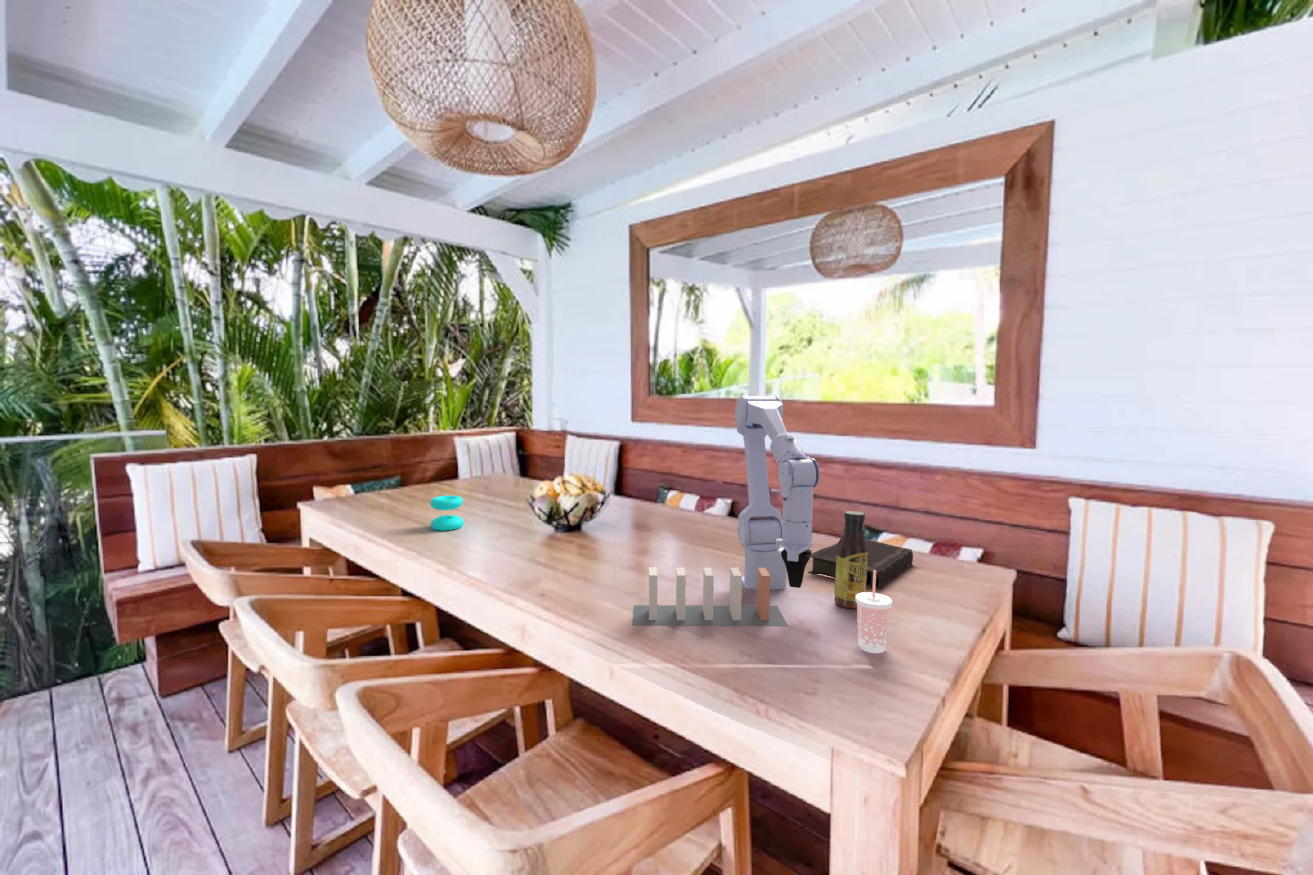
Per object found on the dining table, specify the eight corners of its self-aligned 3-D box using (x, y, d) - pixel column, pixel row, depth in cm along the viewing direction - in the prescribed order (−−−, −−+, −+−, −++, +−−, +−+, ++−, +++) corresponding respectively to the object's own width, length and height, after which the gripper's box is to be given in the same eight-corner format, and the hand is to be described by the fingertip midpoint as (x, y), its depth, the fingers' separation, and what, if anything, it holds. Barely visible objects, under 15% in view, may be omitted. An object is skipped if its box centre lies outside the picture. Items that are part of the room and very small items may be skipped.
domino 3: (710, 610, 116) (711, 567, 116) (713, 620, 111) (713, 575, 111) (702, 610, 116) (703, 567, 116) (704, 620, 111) (705, 575, 111)
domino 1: (656, 610, 116) (657, 567, 116) (657, 620, 111) (657, 575, 111) (649, 610, 116) (649, 567, 116) (648, 620, 111) (649, 575, 111)
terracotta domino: (761, 620, 111) (762, 575, 111) (756, 610, 116) (757, 567, 116) (769, 620, 111) (770, 575, 111) (764, 610, 116) (765, 567, 116)
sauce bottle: (849, 612, 117) (853, 517, 115) (827, 602, 122) (830, 511, 120) (872, 606, 120) (876, 514, 118) (849, 597, 125) (853, 508, 124)
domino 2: (683, 610, 116) (684, 567, 116) (685, 620, 111) (685, 575, 111) (675, 610, 116) (676, 567, 116) (676, 620, 111) (677, 575, 111)
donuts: (445, 493, 190) (469, 495, 186) (445, 523, 191) (470, 525, 187) (422, 499, 181) (448, 501, 177) (424, 530, 181) (449, 533, 178)
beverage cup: (897, 652, 99) (901, 574, 98) (867, 657, 97) (871, 577, 96) (874, 637, 105) (878, 563, 104) (846, 641, 103) (849, 566, 102)
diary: (913, 567, 149) (914, 548, 148) (879, 593, 130) (880, 572, 129) (844, 552, 161) (845, 534, 160) (803, 574, 142) (804, 554, 141)
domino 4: (737, 610, 116) (738, 567, 116) (741, 620, 111) (741, 575, 111) (729, 610, 116) (730, 567, 116) (732, 620, 111) (733, 575, 111)
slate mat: (777, 607, 119) (777, 605, 119) (788, 627, 109) (788, 625, 109) (634, 607, 119) (634, 605, 119) (632, 627, 109) (632, 625, 109)
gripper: (781, 510, 120) (779, 572, 122) (771, 526, 107) (770, 596, 108) (815, 513, 118) (813, 576, 119) (810, 529, 104) (808, 601, 106)
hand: (795, 586), depth 113 cm, fingers closed
